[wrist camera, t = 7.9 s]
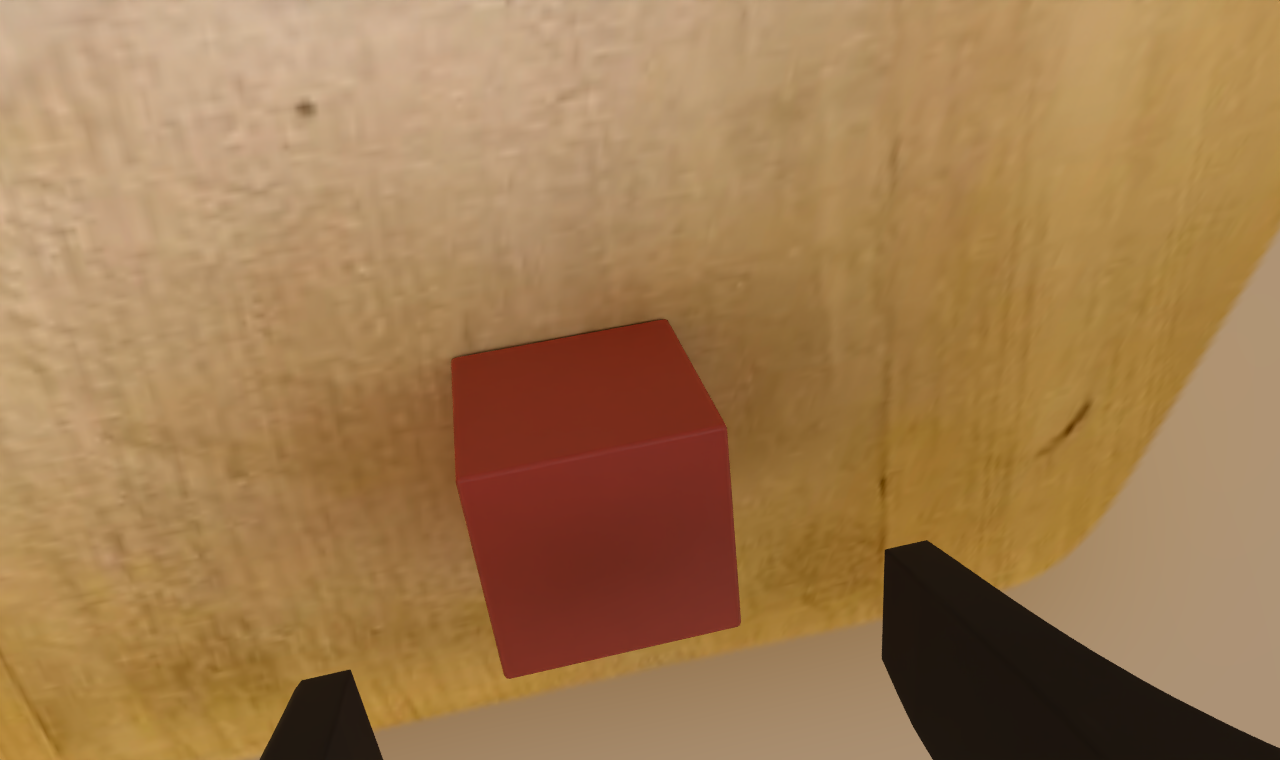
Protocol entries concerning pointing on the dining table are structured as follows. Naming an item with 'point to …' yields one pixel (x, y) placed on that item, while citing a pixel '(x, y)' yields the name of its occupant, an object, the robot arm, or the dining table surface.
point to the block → (594, 496)
